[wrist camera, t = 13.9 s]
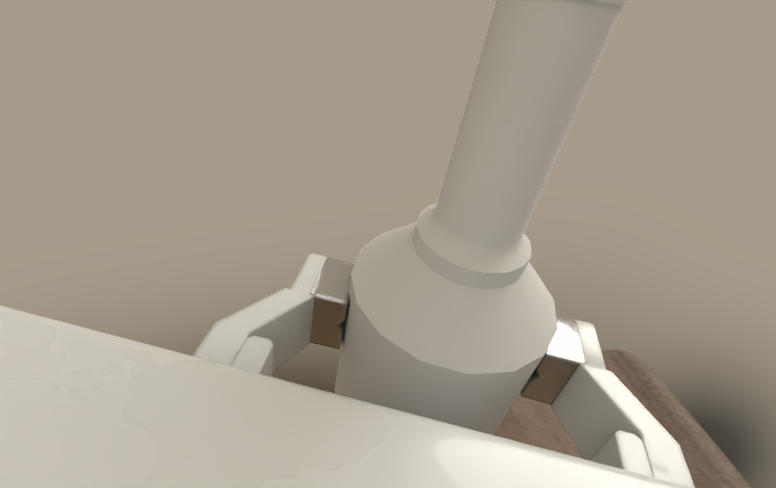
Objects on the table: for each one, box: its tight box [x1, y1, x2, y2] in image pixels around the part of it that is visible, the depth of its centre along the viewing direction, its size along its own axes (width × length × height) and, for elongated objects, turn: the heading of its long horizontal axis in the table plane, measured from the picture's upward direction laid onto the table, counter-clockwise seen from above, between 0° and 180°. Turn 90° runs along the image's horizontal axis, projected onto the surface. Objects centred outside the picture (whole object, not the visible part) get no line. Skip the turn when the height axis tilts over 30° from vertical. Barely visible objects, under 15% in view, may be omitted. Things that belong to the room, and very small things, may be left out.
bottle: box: [334, 0, 630, 435], centre depth 14 cm, size 5×5×25 cm
